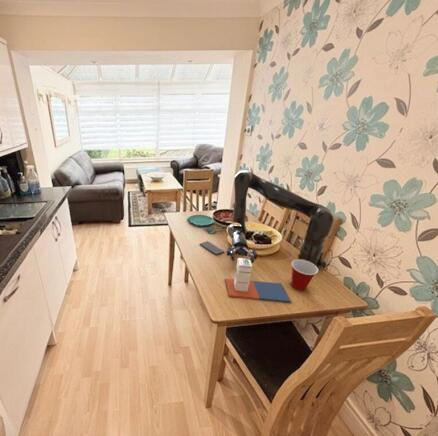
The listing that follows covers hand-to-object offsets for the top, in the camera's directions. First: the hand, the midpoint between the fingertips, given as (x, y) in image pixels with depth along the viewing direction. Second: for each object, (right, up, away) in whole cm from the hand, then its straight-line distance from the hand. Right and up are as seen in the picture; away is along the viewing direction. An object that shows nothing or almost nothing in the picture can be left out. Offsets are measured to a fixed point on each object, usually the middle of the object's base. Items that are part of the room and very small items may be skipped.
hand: (242, 260), depth 115 cm
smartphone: (-6, +1, +32) cm, 33 cm away
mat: (+5, -14, -3) cm, 15 cm away
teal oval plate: (-3, +15, +64) cm, 66 cm away
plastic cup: (+27, -13, 0) cm, 30 cm away
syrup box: (-2, -13, -2) cm, 13 cm away
